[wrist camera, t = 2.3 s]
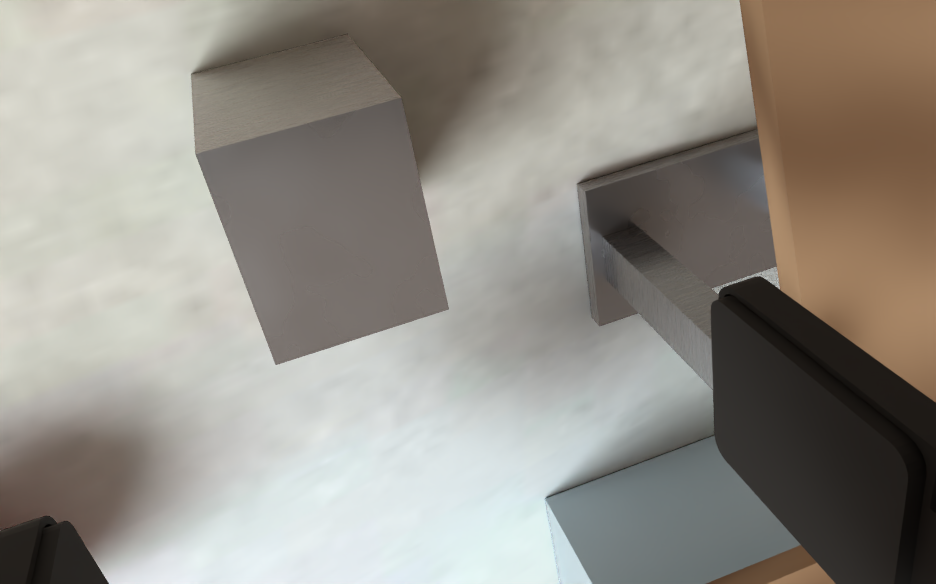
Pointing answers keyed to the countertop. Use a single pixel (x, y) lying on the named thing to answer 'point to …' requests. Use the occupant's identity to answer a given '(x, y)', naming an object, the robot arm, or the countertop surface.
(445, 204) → the countertop surface
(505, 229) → the countertop surface
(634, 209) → the fulcrum
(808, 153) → the lever
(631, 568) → the dish
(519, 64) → the countertop surface
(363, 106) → the iron block
